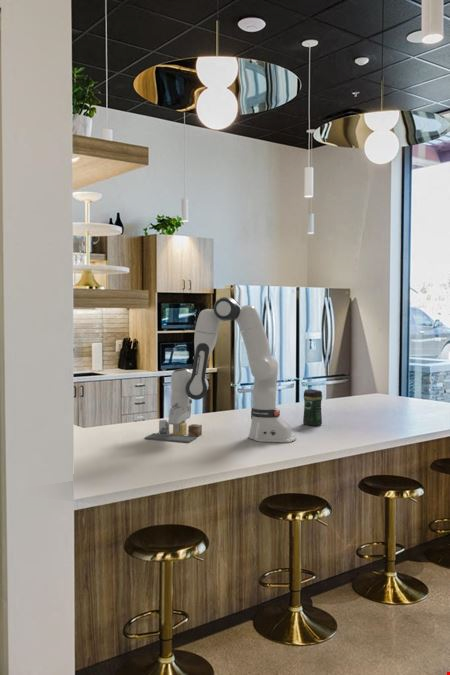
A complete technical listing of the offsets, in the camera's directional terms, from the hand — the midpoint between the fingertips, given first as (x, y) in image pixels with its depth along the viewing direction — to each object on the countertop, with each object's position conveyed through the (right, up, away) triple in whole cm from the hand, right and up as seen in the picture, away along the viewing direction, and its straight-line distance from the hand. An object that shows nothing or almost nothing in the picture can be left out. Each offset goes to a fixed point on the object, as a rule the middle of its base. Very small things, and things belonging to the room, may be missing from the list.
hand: (179, 430), depth 312 cm
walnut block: (+8, -2, -2) cm, 8 cm away
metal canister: (-8, -2, +3) cm, 8 cm away
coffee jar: (+68, -1, +29) cm, 74 cm away
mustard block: (0, -2, 0) cm, 2 cm away
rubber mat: (-3, -2, -10) cm, 11 cm away
